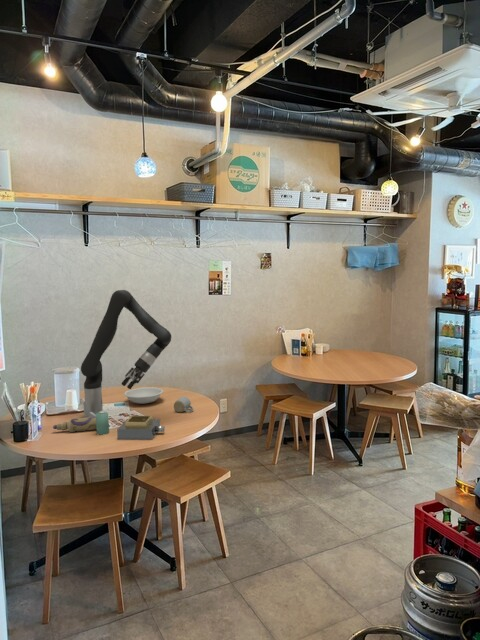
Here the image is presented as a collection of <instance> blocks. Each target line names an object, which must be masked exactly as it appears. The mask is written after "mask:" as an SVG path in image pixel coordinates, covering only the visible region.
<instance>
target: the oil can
mask: <svg viewBox="0 0 480 640" xmlns="http://www.w3.org/2000/svg"><path fill="white" fill-rule="evenodd" d="M90 414H91V415H93V416H94V417H95V418H96V428H97V429H96V435H97V434H100V435H99V436H104V435H103V434H106V435H108V434H110V422H109V412H108V411H105V410H103V411H100V412H99V413H96V415H95V414H94V413H92V412H90Z"/></svg>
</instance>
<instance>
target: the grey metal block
mask: <svg viewBox="0 0 480 640" xmlns="http://www.w3.org/2000/svg"><path fill="white" fill-rule="evenodd" d="M160 421H161V419H160V418H153V415H130V417H129V418H127V419H125V420H124V421H123V422H122V424H121V425H119V426H118V428H116V429H117V432H116V433H117V434H116V435H117V436H116V437H117V440H153V439H154V438H155V436H156V435H157V434H158V433H161V432H162V433H163V432H164V433H165V430H166V427H165V425H161V422H160Z"/></svg>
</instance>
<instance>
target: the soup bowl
mask: <svg viewBox="0 0 480 640" xmlns="http://www.w3.org/2000/svg"><path fill="white" fill-rule="evenodd" d="M163 393H164V390H163V389H162V388H159V387H152V386H147V387H146V386H145V387H137V388H131V389H128V390H126V391H124V393H123V396H125V397H127V399H128V400H129V401H130V402H132V403H134V404H142V405H143V404H150V403H153V402H155V401H157V400H158V399H159V398H160V396H161V395H162V394H163Z"/></svg>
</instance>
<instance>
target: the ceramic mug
mask: <svg viewBox="0 0 480 640" xmlns="http://www.w3.org/2000/svg"><path fill="white" fill-rule="evenodd" d="M173 409H174V411H176V412H177V413H183V412H186V413H193V411H194V408H193V406H192V402H191V400H190V398H189V397H188V396H186V395H185V396H180V397H179V398H178V399H177V400H176V401H174V403H173Z"/></svg>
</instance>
